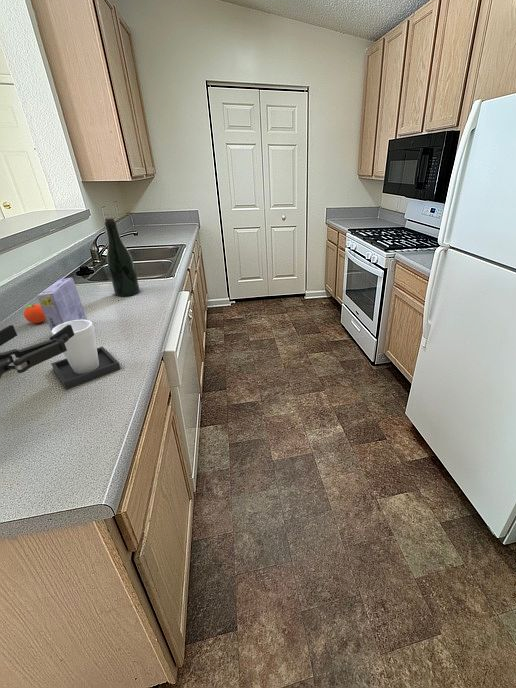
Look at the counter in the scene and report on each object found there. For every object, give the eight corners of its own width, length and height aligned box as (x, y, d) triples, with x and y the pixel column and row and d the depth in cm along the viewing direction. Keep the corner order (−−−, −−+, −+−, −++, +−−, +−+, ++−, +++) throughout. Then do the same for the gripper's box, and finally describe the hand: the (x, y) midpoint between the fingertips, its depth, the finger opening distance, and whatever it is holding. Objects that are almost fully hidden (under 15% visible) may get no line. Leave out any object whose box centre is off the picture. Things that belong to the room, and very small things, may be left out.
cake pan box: (75, 322, 124) (59, 277, 116) (90, 321, 125) (75, 275, 117) (55, 346, 107) (35, 295, 99) (72, 344, 108) (54, 294, 101)
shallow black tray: (53, 369, 95) (51, 363, 94) (104, 352, 104) (102, 346, 103) (66, 389, 87) (63, 382, 86) (120, 368, 95) (118, 362, 95)
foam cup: (109, 357, 100) (97, 318, 94) (98, 374, 92) (84, 332, 86) (75, 360, 98) (61, 321, 93) (61, 378, 90) (44, 336, 85)
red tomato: (21, 328, 120) (14, 310, 117) (27, 320, 126) (20, 303, 123) (47, 324, 123) (40, 306, 120) (52, 317, 128) (46, 300, 125)
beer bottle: (144, 292, 153) (127, 217, 138) (121, 298, 146) (101, 220, 131) (134, 287, 159) (116, 215, 144) (111, 293, 152) (90, 218, 137)
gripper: (-97, 400, 61) (-4, 344, 80) (39, 399, 62) (99, 343, 81) (-120, 366, 58) (-18, 316, 77) (24, 365, 58) (90, 315, 77)
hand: (42, 330), depth 79 cm, fingers open, 13 cm apart
